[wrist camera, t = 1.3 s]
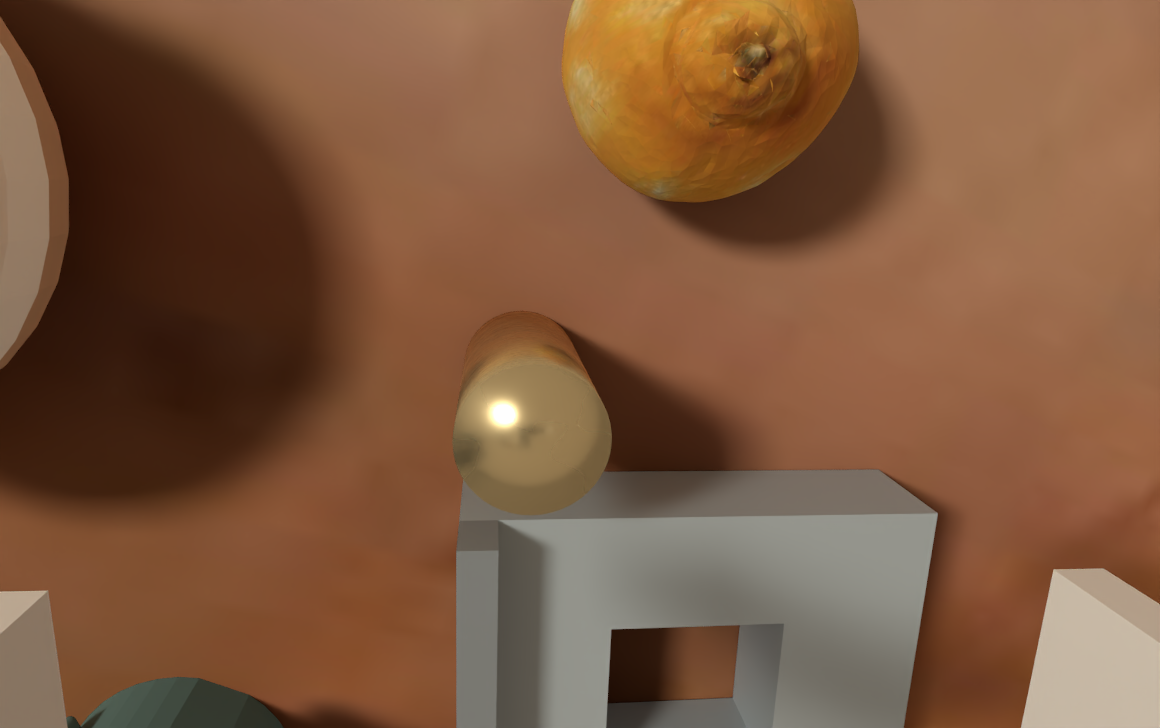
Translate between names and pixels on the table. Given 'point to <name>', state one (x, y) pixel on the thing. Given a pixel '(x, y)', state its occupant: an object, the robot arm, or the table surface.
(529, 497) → the brass cylinder
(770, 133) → the fruit
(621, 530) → the jig
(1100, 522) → the table surface
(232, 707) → the bracket
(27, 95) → the bowl
